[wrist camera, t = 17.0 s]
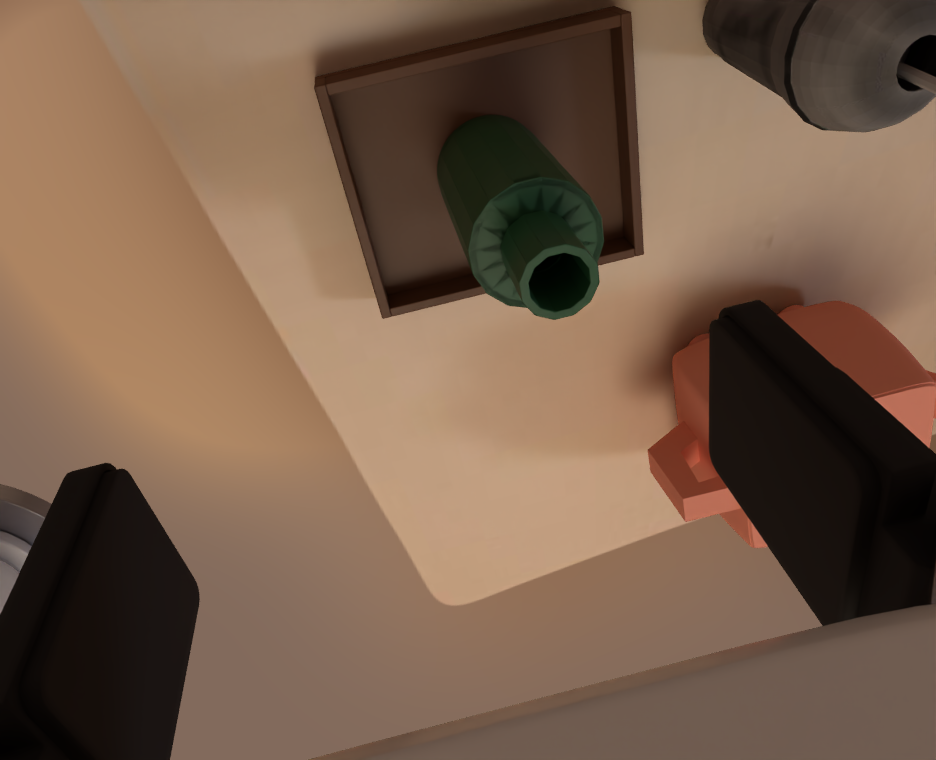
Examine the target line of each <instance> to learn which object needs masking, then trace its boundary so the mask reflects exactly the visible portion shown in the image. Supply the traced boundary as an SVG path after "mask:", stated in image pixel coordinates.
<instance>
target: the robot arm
mask: <svg viewBox="0 0 936 760" xmlns="http://www.w3.org/2000/svg"><path fill="white" fill-rule="evenodd" d="M709 454H710V458H711V461H712V464H713V466H714V468H715V470H716V472H717V473H718V475H719V476H720V478H721V479H722V480H723V482H724V483H725V485H726V486H727V488H728V489H729V491H730V492H731V494H732V495H733V496H734V498H735V499H736V501H737V502H738V504H739V505H740V507H741V508H742V509H743V511H744V512H745V514H746V515H747V517H748V518H749V520H750V521H751V522H752V524H753V525H754V527H755V528H756V530H757V531H758V533H759V534H760V536H761V537H762V538H763V540H764V541H765V543H766V544H767V546H768V547H769V549H770V550H771V551H772V553H773V554H774V556H775V557H776V559H777V560H778V561H779V563H780V564H781V566H782V567H783V569H784V570H785V572H786V573H787V574H788V576H789V577H790V579H791V580H792V582H793V583H794V585H795V586H796V588H797V589H798V591H799V592H800V594H801V595H802V596H803V598H804V599H805V601H806V602H807V604H808V605H809V606H810V608H811V609H812V611H813V612H814V613H815V615H816V616H817V618H818V620H819V621H820V623H821V624H822V625H823V626H821V627H818V628H813V629H809V630H805V631H801V632H797V633H792V634H788V635H784V636H780V637H775V638H772V639H767V640H763V641H759V642H755V643H751V644H747V645H743V646H739V647H735V648H731V649H727V650H723V651H719V652H716V653H712V654H708V655H704V656H700V657H696V658H692V659H689V660H685V661H681V662H677V663H673V664H669V665H666V666H662V667H658V668H654V669H650V670H646V671H642V672H638V673H635V674H631V675H627V676H623V677H619V678H615V679H612V680H607V681H603V682H600V683H596V684H592V685H588V686H584V687H580V688H576V689H573V690H569V691H565V692H561V693H557V694H554V695H550V696H546V697H542V698H539V699H535V700H531V701H527V702H523V703H519V704H516V705H512V706H508V707H504V708H501V709H497V710H493V711H489V712H486V713H481V714H478V715H474V716H470V717H466V718H463V719H459V720H455V721H451V722H447V723H444V724H440V725H436V726H432V727H429V728H425V729H421V730H417V731H414V732H410V733H406V734H402V735H398V736H395V737H391V738H387V739H384V740H380V741H376V742H372V743H368V744H364V745H361V746H357V747H354V748H350V749H346V750H342V751H339V752H335V753H331V754H327V755H324V756H320V757H316V758H313V759H309V760H936V454H935V453H934V452H933V451H932V450H931V449H930V448H929V447H927V446H926V445H925V444H924V443H923V442H922V441H921V440H920V439H919V438H917V437H916V436H915V435H914V434H913V433H912V432H911V431H910V430H908V429H907V428H906V427H905V426H904V425H903V424H902V423H901V422H900V421H898V420H897V419H896V418H895V417H894V416H893V415H892V414H891V413H890V412H888V411H887V410H886V409H885V408H884V407H883V406H882V405H881V404H879V403H878V402H877V401H876V400H875V399H874V398H873V397H872V396H871V395H869V394H868V393H867V392H866V391H865V390H864V389H863V388H862V387H860V386H859V385H858V384H857V383H856V382H855V381H854V380H853V379H852V378H850V377H849V376H848V375H847V374H846V373H845V372H843V371H842V370H840V369H839V368H837V367H835V366H833V365H832V364H831V363H830V362H829V361H828V360H827V359H826V358H825V357H824V356H822V355H821V354H820V353H819V352H818V351H817V350H816V349H815V348H814V347H812V346H811V345H810V344H809V343H808V342H807V341H806V340H805V339H804V338H802V337H801V336H800V335H799V334H798V333H797V332H796V331H795V330H794V329H792V328H791V327H790V326H789V325H788V324H787V323H786V322H785V321H784V320H783V319H781V318H780V317H779V316H778V315H777V314H776V313H775V312H774V311H773V310H771V309H770V308H769V307H768V306H767V305H766V304H765V303H763V302H762V301H760V300H755V301H751V302H747V303H743V304H739V305H735V306H731V307H727V308H724V309H722V310H721V312H720V314H719V319H717V320H713V321H712V322H711V324H710V329H709ZM198 607H199V590H198V586H197V583H196V581H195V579H194V577H193V576H192V574H191V572H190V571H189V569H188V567H187V566H186V564H185V562H184V561H183V559H182V558H181V556H180V554H179V553H178V551H177V549H176V548H175V546H174V545H173V543H172V542H171V540H170V539H169V537H168V535H167V534H166V532H165V530H164V528H163V527H162V525H161V524H160V522H159V521H158V519H157V517H156V515H155V514H154V512H153V511H152V509H151V507H150V506H149V504H148V503H147V501H146V499H145V498H144V496H143V494H142V493H141V491H140V489H139V488H138V486H137V485H136V483H135V481H134V480H133V478H132V476H131V475H130V474H129V473H128V471H126V470H125V469H118V470H117V469H116V468H115V467H114V466H113V465H111V464H109V463H104V464H100V465H96V466H92V467H88V468H84V469H80V470H76V471H72V472H70V473H68V474H67V475H66V476H65V478H64V479H63V481H62V483H61V486H60V488H59V490H58V492H57V494H56V496H55V498H54V500H53V503H52V505H51V507H50V509H49V511H48V513H47V515H46V518H45V520H44V522H43V524H42V526H41V528H40V530H39V533H38V535H37V537H36V539H35V541H34V543H33V545H32V546H30V545H29V544H27V543H26V542H25V541H23V540H21V539H19V538H17V537H15V536H13V535H11V534H9V533H6V532H3V531H0V760H170V756H171V750H172V745H173V740H174V734H175V730H176V724H177V719H178V714H179V708H180V702H181V698H182V692H183V687H184V682H185V676H186V671H187V666H188V660H189V655H190V650H191V644H192V639H193V633H194V629H195V623H196V618H197V612H198Z"/></svg>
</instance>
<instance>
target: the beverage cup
mask: <svg viewBox="0 0 936 760" xmlns="http://www.w3.org/2000/svg"><path fill="white" fill-rule="evenodd" d="M703 35H704V37H705V40H706V43H707V45H708V46H709V48H710V49H711V50H712V51H713V52H714V53H715V54H717V55H719V56H720V57H721V58H722V59H723V60H724V61H725V62H727V63H728V64H730V65H731V66H733V67H735V68H736V69H738V70H739V71H741V72H743V73H744V74H746V75H747V76H749V77H751V78H752V79H754V80H755V81H757V82H759V83H760V84H762V85H763V86H765V87H767V88H768V89H770V90H771V91H773V92H775V93H776V94H778V95H779V96H781V97H782V98H783V99H784V100H785V101H786V102H787V104H788V105H789V106H790V107H791V108H792V109H793V110H794V111H795V112H796V113H797V114H798V115H799V116H800V117H801V118H802V120H803V121H804V122H806V123H808V124H811V125H813V126H815V127H817V128H819V129H821V130H833V131H849V132H870V131H875V130H878V129H882V128H885V127H888V126H892V125H895V124H897V123H900V122H902V121H904V120H905V119H907V118H909V117H910V116H912V115H913V114H915V113H917V112H918V111H920V110H922V109H923V108H924V107H925V106H926V105H927V104H928V103H929V102H930V101H931V100H932V99H933V98H934V97H936V0H709V2H708V4H707V6H706V9H705V13H704V17H703Z"/></svg>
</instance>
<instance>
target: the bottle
mask: <svg viewBox="0 0 936 760" xmlns="http://www.w3.org/2000/svg"><path fill="white" fill-rule="evenodd" d="M437 178H438V183H439V187H440V191H441V195H442V197H443V200H444V203H445V205H446V208H447V210H448V213H449V215H450V218H451V220H452V223H453V225H454V228H455V230H456V233H457V235H458V238H459V241H460V243H461V246H462V248H463V251H464V253H465V256H466V258H467V261H468V263H469V266H470V268H471V271H472V273H473V276H474V277H475V278H476V280H477V281H478V282H479V284H480V285H481V286H482V288H483V289H484V290H485V292H486V293H487V294H488V295H490V296H492V297H494V298H495V299H497V300H499V301H501V302H503V303H504V304H506V305H509V306H516V307H525V308H528V309H529V310H530V311H531V312H532V313H533V314H534V315H536V316H540V317H544V318H548V319H553V320H556V319H560V318H564V317H568V316H572V315H574V314H576V313H577V312H578V311H580V310H581V309H582V308H583V307H585V306H586V305H587V304H588V303H589V302H590V301H591V300H592V298H593V296H594V293H595V291H596V289H597V287H598V285H599V272H598V264H597V263H598V260H599V257H600V253H601V250H602V247H603V244H604V235H603V224H602V217H601V214H600V213H599V211H598V209H597V207H596V206H595V204H594V202H593V200H592V199H591V197H590V196H589V194H588V193H587V192H586V191H585V190H584V189H583V188H582V187H581V186H580V185H579V183H578V182H577V181H576V180H575V179H574V178H573V177H572V176H571V175H570V174H569V173H568V171H567V170H566V169H565V168H564V167H563V166H562V165H561V164H560V163H559V162H558V160H557V159H556V158H555V157H554V156H553V155H552V154H551V153H550V152H549V151H548V150H547V148H546V147H545V146H544V145H543V144H542V143H541V142H540V141H539V140H538V139H537V137H536V136H535V135H534V134H533V133H532V132H531V131H530V130H528V129H527V128H526V127H525V126H523V125H522V124H521V123H519V122H518V121H516V120H514V119H512V118H509V117H506V116H502V115H483V116H479V117H476V118H473V119H471V120H468V121H466V122H465V123H463V124H462V125H460V126H459V127H458V128H457V129H455V130H454V131H453V133H452V134H451V135H450V136H449V137H448V139H447V140H446V142H445V143H444V145H443V147H442V149H441V152H440V155H439V159H438V164H437Z"/></svg>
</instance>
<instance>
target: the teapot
mask: <svg viewBox="0 0 936 760" xmlns="http://www.w3.org/2000/svg"><path fill="white" fill-rule="evenodd" d="M777 315H778V316H779V317H780V318H781V319H783V320H784V321H785V322H786V323H787V324H788V325H789V326H790V327H791V328H792V329H794V330H795V331H796V332H797V333H798V334H799V335H800V336H801V337H802V338H804V339H805V340H806V341H807V342H808V343H809V344H810V345H811V346H812V347H814V348H815V349H816V350H817V351H818V352H819V353H820V354H821V355H822V356H824V357H825V358H826V359H827V360H828V361H829V362H830V363H831V364H832V365H833V366H835V367H837V368H839V369H840V370H842V371H843V372H845V373H846V374H847V375H848V376H849V377H850V378H852V379H853V380H854V381H855V382H856V383H857V384H858V385H859V386H860V387H862V388H863V389H864V390H865V391H866V392H867V393H868V394H869V395H871V396H872V397H873V398H874V399H875V400H876V401H877V402H878V403H879V404H881V405H882V406H883V407H884V408H885V409H886V410H887V411H888V412H890V413H891V414H892V415H893V416H894V417H895V418H896V419H897V420H898V421H900V422H901V423H902V424H903V425H904V426H905V427H906V428H907V429H908V430H910V431H911V432H912V433H913V434H914V435H915V436H916V437H917V438H919V439H920V440H921V441H922V442H923V443H924V444H925V445H926V446H927V447H929V448H930V442H931V434H932V426H933V418H936V373H933V372H929V371H926V370H925V369H924V368H923V367H922V366H921V364H920V363H919V362H918V361H917V360H916V359H915V357H914V356H913V355H912V354H911V353H910V352H909V351H908V350H907V349H906V347H905V346H904V345H903V344H902V343H901V342H900V341H899V340H898V339H897V338H896V337H895V336H894V335H893V334H892V333H890V332H889V331H888V330H887V329H886V328H885V327H884V326H883V325H882V324H880V323H879V322H878V321H877V320H876V319H875V318H873V317H872V316H871V315H870V314H868V313H867V312H866V311H864V310H862V309H861V308H859V307H856V306H854V305H851V304H849V303H846V302H842V301H831V302H825V303H820V304H815V305H811V306H807V307H804V306H801V305H792V306H789V307H787V308H785V309H783V310H782V311H781V312H780V313H779V314H777ZM672 366H673V381H674V392H675V401H676V410H677V418H678V426H676V427H675V428H674V429H673V430H671V431H670V432H669V433H668V434H667V435H665V436H664V437H663V438H662V439H660V440H659V441H658V442H657V443H655V444H654V445H653V446H652V447H651V448H649V449H648V456H649V463H650V470H651V473H652V474H653V476H654V477H655V479H656V480H657V482H658V483H659V484H660V486H661V487H662V489H663V490H664V492H665V493H666V495H667V496H668V497H669V499H670V500H671V502H672V503H673V505H674V506H675V507H676V509H677V510H678V512H679V513H680V515H681V516H682V518H683V519H684V520H685V522H687V521H691V520H696V519H700V518H704V517H708V516H712V515H716V514H720V515H721V516H722V518H724V520H725V521H726V522H727V523H728V524H729V525H730V526H731V527H732V528H733V529H734V530H735V531H736V532H737V533H738V534H739V535H740V536H741V537H742V538H743V539H744V540H745V541H746V542H747V543H748V544H749V545H750V546H751V547H753V548H764V547H768V546H767V544H766V543H765V541H764V540H763V538H762V537H761V536H760V534H759V533H758V531H757V530H756V528H755V527H754V525H753V524H752V522H751V521H750V520H749V518H748V517H747V515H746V514H745V512H744V511H743V509H742V508H741V507H740V505H739V504H738V502H737V501H736V499H735V498H734V496H733V495H732V494H731V492H730V491H729V489H728V488H727V486H726V485H725V483H724V482H723V480H722V479H721V478H720V476H719V475H718V473H717V472H716V470H715V468H714V466H713V464H712V461H711V458H710V454H709V333H707V334H701V335H699V336H697V337H695V338H694V339H693V340H691V341H690V343H689V344H688V345H687V347H686V348H684V349H683V350H681V351H679V352H678V353H676V354H675V355H674V357H673V362H672Z"/></svg>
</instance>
